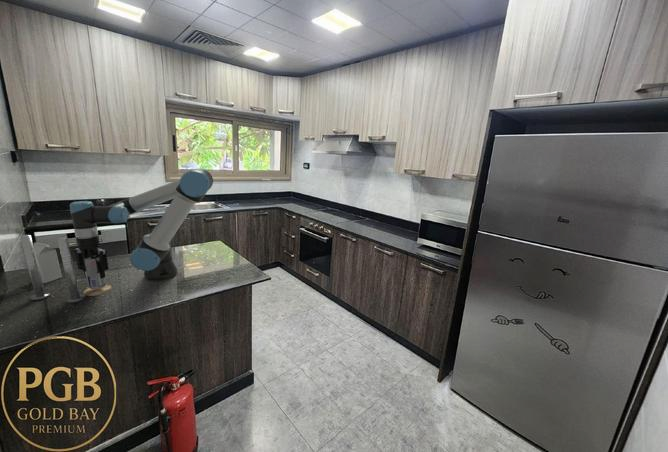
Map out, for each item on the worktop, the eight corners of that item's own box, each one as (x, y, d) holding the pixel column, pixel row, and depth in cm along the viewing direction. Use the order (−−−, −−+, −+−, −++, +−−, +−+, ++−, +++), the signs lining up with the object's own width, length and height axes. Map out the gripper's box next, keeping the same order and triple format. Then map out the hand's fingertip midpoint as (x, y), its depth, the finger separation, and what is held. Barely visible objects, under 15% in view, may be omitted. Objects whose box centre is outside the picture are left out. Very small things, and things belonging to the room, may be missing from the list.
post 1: (54, 294, 121) (40, 234, 114) (40, 301, 116) (24, 238, 108) (42, 293, 122) (26, 233, 114) (26, 300, 116) (9, 237, 109)
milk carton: (45, 283, 130) (36, 246, 125) (34, 281, 131) (24, 244, 126) (62, 277, 137) (54, 242, 132) (51, 275, 138) (43, 240, 133)
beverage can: (108, 284, 129) (103, 255, 125) (99, 290, 123) (94, 259, 119) (96, 284, 128) (90, 255, 124) (86, 290, 123) (80, 259, 119)
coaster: (116, 286, 131) (116, 285, 131) (98, 296, 121) (98, 295, 121) (97, 285, 131) (96, 284, 131) (77, 295, 122) (76, 294, 121)
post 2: (88, 296, 121) (76, 236, 114) (75, 304, 115) (62, 240, 108) (76, 295, 121) (63, 235, 114) (62, 303, 115) (47, 239, 108)
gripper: (113, 235, 123) (121, 281, 129) (76, 232, 123) (85, 278, 129) (99, 240, 115) (108, 288, 121) (59, 237, 116) (70, 286, 122)
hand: (96, 283), depth 125 cm, fingers closed on beverage can, 5 cm apart
